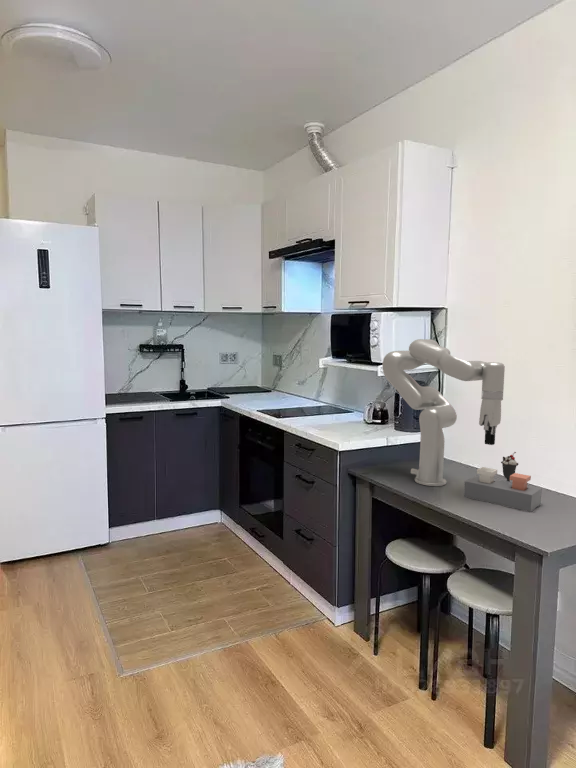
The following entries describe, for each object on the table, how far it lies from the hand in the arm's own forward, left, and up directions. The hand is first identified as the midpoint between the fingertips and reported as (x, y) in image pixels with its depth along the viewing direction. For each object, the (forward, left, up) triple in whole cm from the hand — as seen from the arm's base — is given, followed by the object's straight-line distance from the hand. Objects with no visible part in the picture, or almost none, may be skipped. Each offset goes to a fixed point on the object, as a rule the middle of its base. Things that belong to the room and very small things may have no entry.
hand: (489, 444), depth 200 cm
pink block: (+12, 0, -17) cm, 21 cm away
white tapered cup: (0, 0, -17) cm, 17 cm away
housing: (+6, 0, -20) cm, 21 cm away
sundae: (+2, +19, -21) cm, 28 cm away
